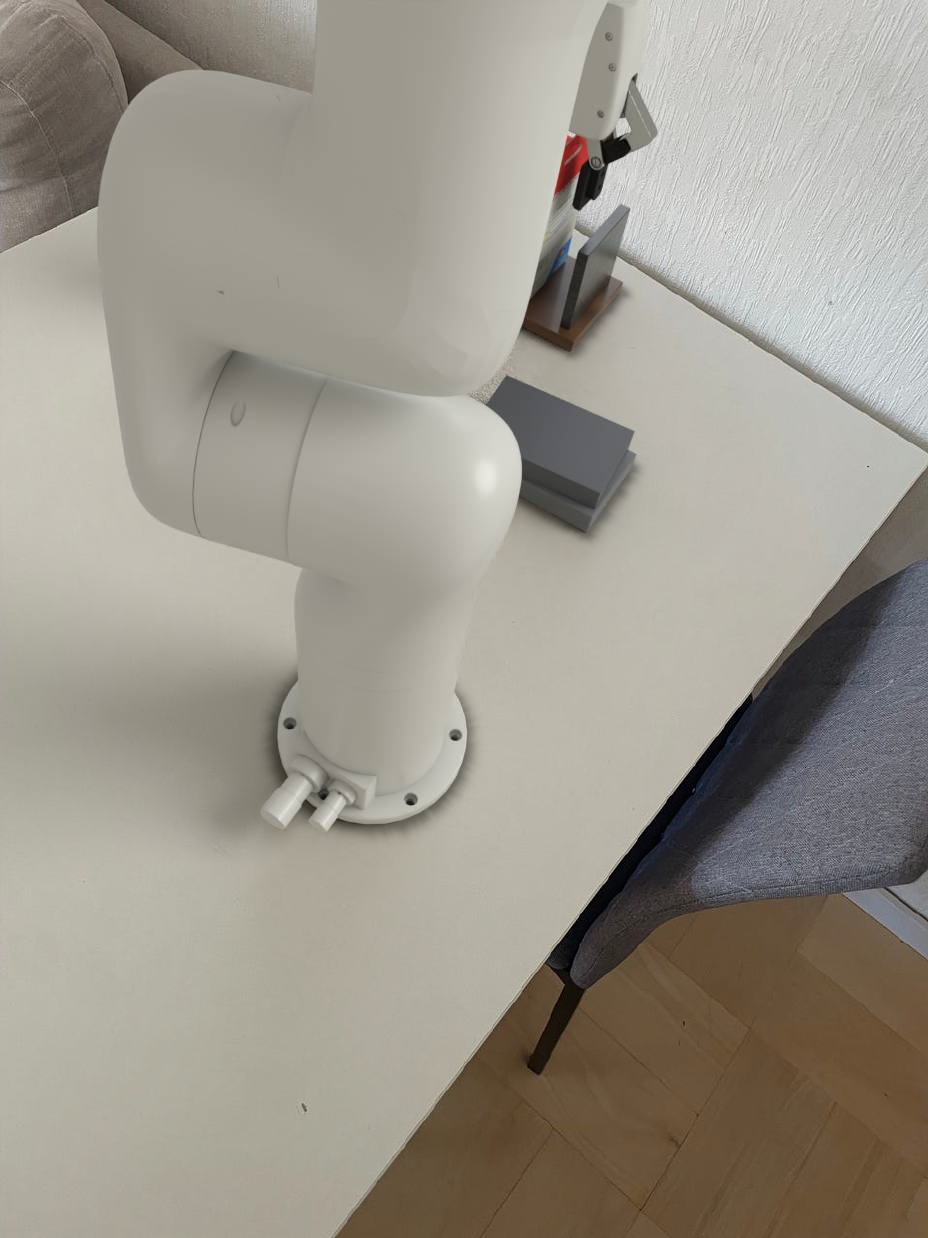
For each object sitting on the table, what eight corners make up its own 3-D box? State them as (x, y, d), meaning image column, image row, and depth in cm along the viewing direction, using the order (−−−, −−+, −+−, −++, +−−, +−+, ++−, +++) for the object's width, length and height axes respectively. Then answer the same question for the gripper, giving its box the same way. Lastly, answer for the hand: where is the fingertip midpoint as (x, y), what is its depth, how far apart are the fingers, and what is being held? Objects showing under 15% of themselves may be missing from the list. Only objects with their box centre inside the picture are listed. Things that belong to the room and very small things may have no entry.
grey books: (585, 534, 80) (596, 503, 77) (453, 462, 82) (459, 429, 79) (631, 468, 84) (644, 435, 81) (505, 401, 87) (512, 367, 83)
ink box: (523, 238, 96) (552, 88, 84) (568, 261, 95) (604, 113, 83) (476, 286, 92) (499, 136, 80) (523, 310, 91) (553, 162, 79)
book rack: (570, 352, 91) (599, 247, 81) (356, 243, 95) (359, 131, 86) (620, 291, 96) (652, 186, 86) (414, 191, 100) (423, 80, 91)
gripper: (460, -74, 70) (436, 162, 85) (683, 21, 67) (617, 250, 82) (515, -110, 74) (483, 123, 89) (728, -21, 71) (657, 205, 86)
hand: (547, 182), depth 85 cm, fingers open, 6 cm apart
